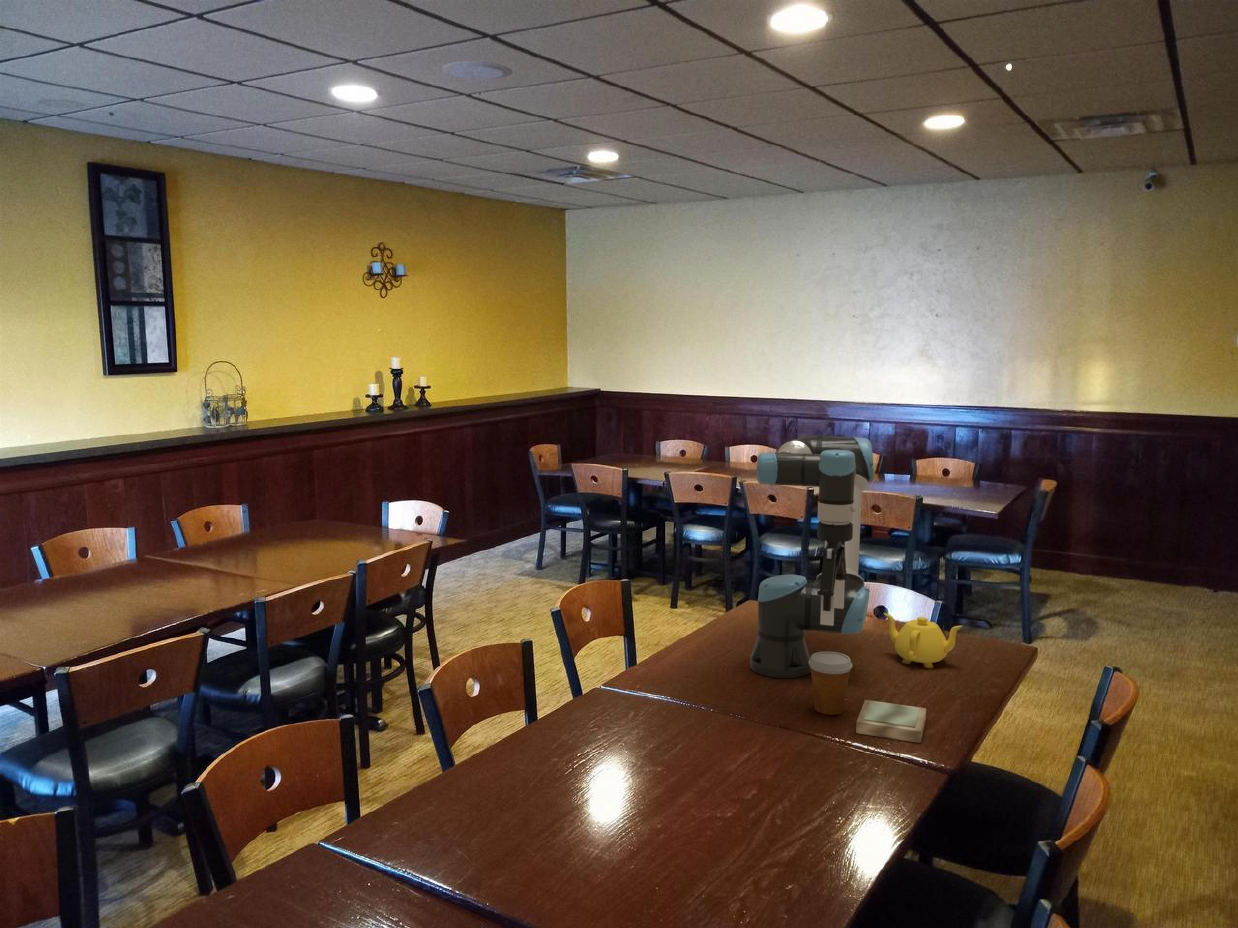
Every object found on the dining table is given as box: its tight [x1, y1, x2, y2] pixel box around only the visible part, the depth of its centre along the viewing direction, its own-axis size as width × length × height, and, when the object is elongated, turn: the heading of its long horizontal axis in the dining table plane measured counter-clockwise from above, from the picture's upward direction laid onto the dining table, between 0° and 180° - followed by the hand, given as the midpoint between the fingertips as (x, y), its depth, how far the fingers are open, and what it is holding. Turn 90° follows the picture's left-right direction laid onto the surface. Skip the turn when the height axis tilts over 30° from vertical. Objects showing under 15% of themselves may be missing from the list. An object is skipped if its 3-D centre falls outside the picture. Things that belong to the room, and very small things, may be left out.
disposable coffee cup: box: [809, 651, 853, 716], centre depth 209 cm, size 10×10×12 cm
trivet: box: [855, 699, 927, 744], centre depth 200 cm, size 13×13×3 cm
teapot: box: [883, 612, 963, 669], centre depth 239 cm, size 20×15×12 cm
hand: (832, 616), depth 207 cm, fingers open, 13 cm apart
